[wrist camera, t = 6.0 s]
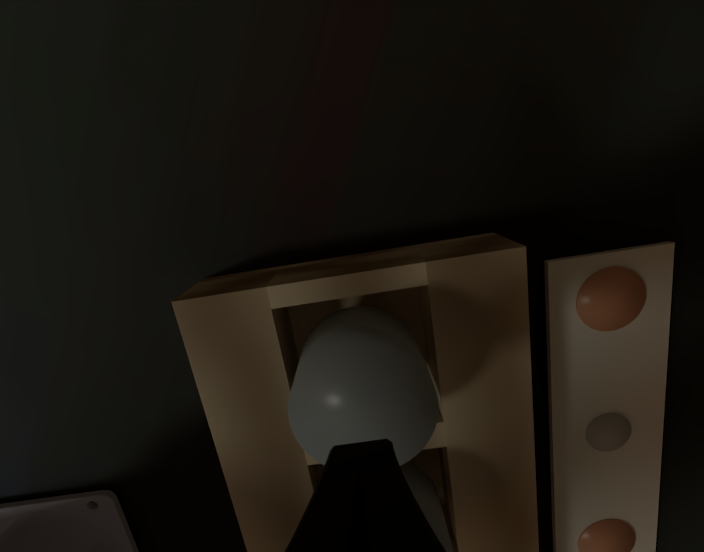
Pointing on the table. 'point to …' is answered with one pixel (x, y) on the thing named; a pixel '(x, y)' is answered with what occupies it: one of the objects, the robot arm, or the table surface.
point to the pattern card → (607, 395)
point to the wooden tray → (439, 355)
